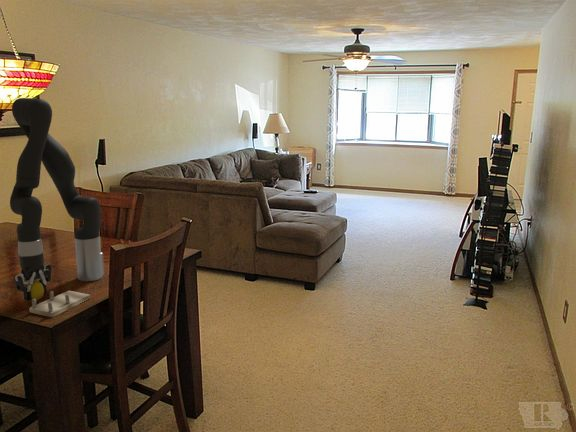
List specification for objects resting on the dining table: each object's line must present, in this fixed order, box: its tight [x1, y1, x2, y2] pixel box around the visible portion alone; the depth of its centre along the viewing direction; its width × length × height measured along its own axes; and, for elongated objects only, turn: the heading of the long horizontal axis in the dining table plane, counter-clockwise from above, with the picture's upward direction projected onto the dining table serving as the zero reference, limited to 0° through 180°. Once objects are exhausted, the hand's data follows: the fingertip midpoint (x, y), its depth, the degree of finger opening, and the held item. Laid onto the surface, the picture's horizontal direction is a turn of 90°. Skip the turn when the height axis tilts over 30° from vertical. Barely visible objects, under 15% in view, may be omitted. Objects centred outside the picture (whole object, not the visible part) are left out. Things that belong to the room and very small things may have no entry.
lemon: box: [30, 280, 44, 302], centre depth 168 cm, size 6×6×8 cm
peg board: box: [29, 290, 91, 318], centre depth 166 cm, size 17×10×4 cm, turn 159°
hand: (35, 297), depth 168 cm, fingers closed on lemon, 5 cm apart
